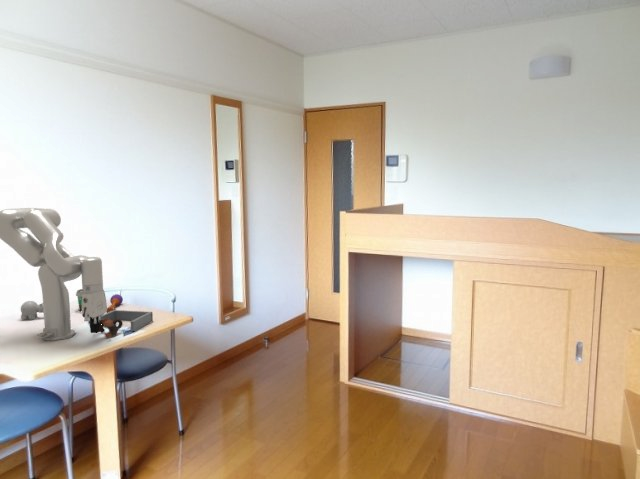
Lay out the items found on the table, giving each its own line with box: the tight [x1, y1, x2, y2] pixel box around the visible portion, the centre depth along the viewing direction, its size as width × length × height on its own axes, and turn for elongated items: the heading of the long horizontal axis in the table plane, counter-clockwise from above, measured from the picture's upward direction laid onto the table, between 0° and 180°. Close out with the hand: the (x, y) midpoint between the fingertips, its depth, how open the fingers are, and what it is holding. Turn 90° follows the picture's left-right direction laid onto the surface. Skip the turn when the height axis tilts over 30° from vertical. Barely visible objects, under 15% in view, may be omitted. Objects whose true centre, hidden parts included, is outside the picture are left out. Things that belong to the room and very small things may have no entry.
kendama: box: [106, 293, 123, 313], centre depth 242 cm, size 6×6×20 cm
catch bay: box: [100, 309, 154, 332], centre depth 213 cm, size 16×19×4 cm
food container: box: [75, 288, 83, 312], centre depth 239 cm, size 12×6×10 cm, turn 17°
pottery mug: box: [99, 318, 123, 339], centre depth 200 cm, size 12×10×8 cm
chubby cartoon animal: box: [20, 300, 44, 321], centre depth 224 cm, size 7×12×8 cm, turn 101°
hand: (95, 332), depth 193 cm, fingers closed
